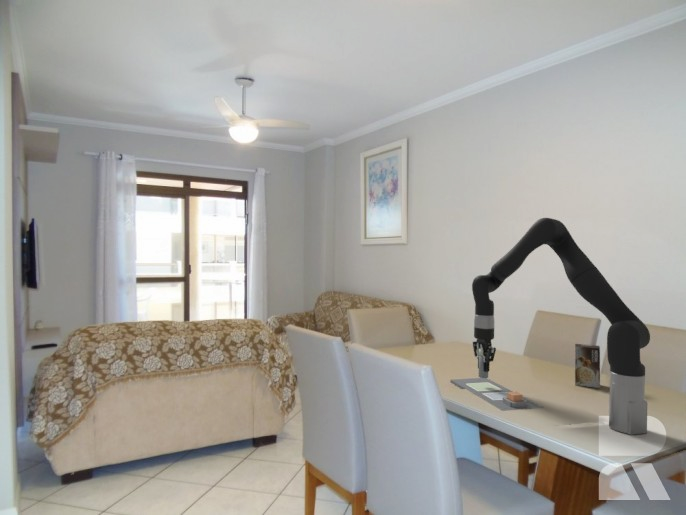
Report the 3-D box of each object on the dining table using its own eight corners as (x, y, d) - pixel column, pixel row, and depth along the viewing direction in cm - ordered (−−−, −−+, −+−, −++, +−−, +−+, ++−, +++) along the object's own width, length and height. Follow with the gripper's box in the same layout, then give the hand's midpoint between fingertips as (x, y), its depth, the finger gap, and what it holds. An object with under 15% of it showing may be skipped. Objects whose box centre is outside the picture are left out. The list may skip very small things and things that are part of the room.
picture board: (544, 410, 161) (544, 402, 161) (502, 413, 157) (502, 405, 157) (485, 380, 198) (485, 373, 198) (450, 382, 194) (450, 375, 194)
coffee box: (599, 384, 192) (600, 345, 192) (600, 388, 187) (600, 348, 187) (574, 381, 197) (575, 343, 196) (574, 385, 191) (574, 345, 191)
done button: (522, 401, 162) (522, 394, 162) (513, 402, 162) (513, 395, 162) (516, 398, 166) (516, 391, 166) (507, 399, 165) (507, 392, 165)
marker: (490, 377, 183) (490, 349, 183) (481, 378, 182) (482, 350, 182) (485, 375, 187) (485, 347, 186) (476, 375, 186) (477, 348, 185)
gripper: (503, 329, 178) (502, 374, 178) (483, 323, 192) (482, 365, 192) (485, 329, 176) (484, 375, 176) (466, 323, 190) (465, 366, 190)
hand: (483, 369), depth 184 cm, fingers closed on marker, 3 cm apart
